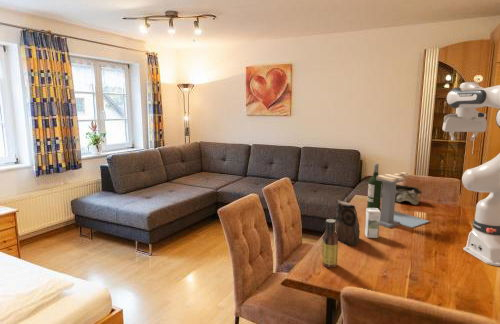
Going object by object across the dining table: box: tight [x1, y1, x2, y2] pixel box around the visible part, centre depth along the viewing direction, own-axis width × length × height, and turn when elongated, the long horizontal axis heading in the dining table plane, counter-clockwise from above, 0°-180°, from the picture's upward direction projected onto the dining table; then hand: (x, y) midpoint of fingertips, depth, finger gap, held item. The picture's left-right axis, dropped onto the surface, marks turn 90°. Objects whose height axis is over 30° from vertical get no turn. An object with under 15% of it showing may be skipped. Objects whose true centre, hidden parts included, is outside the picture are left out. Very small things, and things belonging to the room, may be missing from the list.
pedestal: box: [376, 178, 404, 229], centre depth 185 cm, size 10×10×26 cm
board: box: [376, 171, 409, 182], centre depth 186 cm, size 20×10×2 cm, turn 123°
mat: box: [380, 210, 430, 229], centre depth 195 cm, size 18×24×1 cm
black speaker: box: [334, 199, 361, 247], centre depth 163 cm, size 13×13×20 cm
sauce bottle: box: [321, 218, 339, 269], centre depth 138 cm, size 6×6×20 cm
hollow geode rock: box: [381, 183, 423, 206], centre depth 230 cm, size 28×13×15 cm
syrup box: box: [364, 207, 381, 239], centre depth 168 cm, size 6×6×14 cm
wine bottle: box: [366, 162, 383, 211], centre depth 211 cm, size 8×8×30 cm
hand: (462, 140), depth 174 cm, fingers open, 8 cm apart
